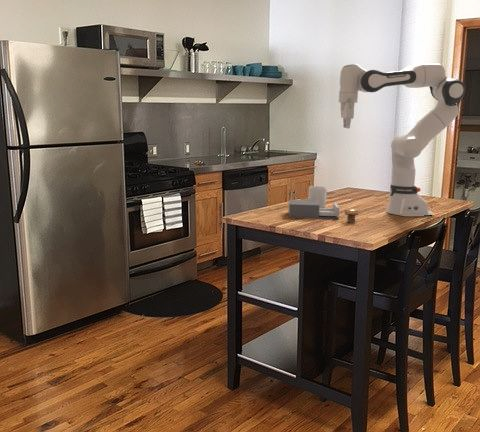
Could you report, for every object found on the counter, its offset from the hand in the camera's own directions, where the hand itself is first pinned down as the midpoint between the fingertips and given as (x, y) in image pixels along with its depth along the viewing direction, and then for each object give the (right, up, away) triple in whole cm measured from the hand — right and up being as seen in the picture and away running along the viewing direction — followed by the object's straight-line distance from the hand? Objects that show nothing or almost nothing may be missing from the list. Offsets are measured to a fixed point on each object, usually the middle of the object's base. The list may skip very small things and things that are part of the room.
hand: (346, 128), depth 262 cm
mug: (-11, -39, +19) cm, 45 cm away
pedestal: (0, -45, -12) cm, 47 cm away
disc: (0, -42, -12) cm, 44 cm away
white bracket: (-11, -42, -1) cm, 43 cm away
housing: (-16, -43, 0) cm, 46 cm away
